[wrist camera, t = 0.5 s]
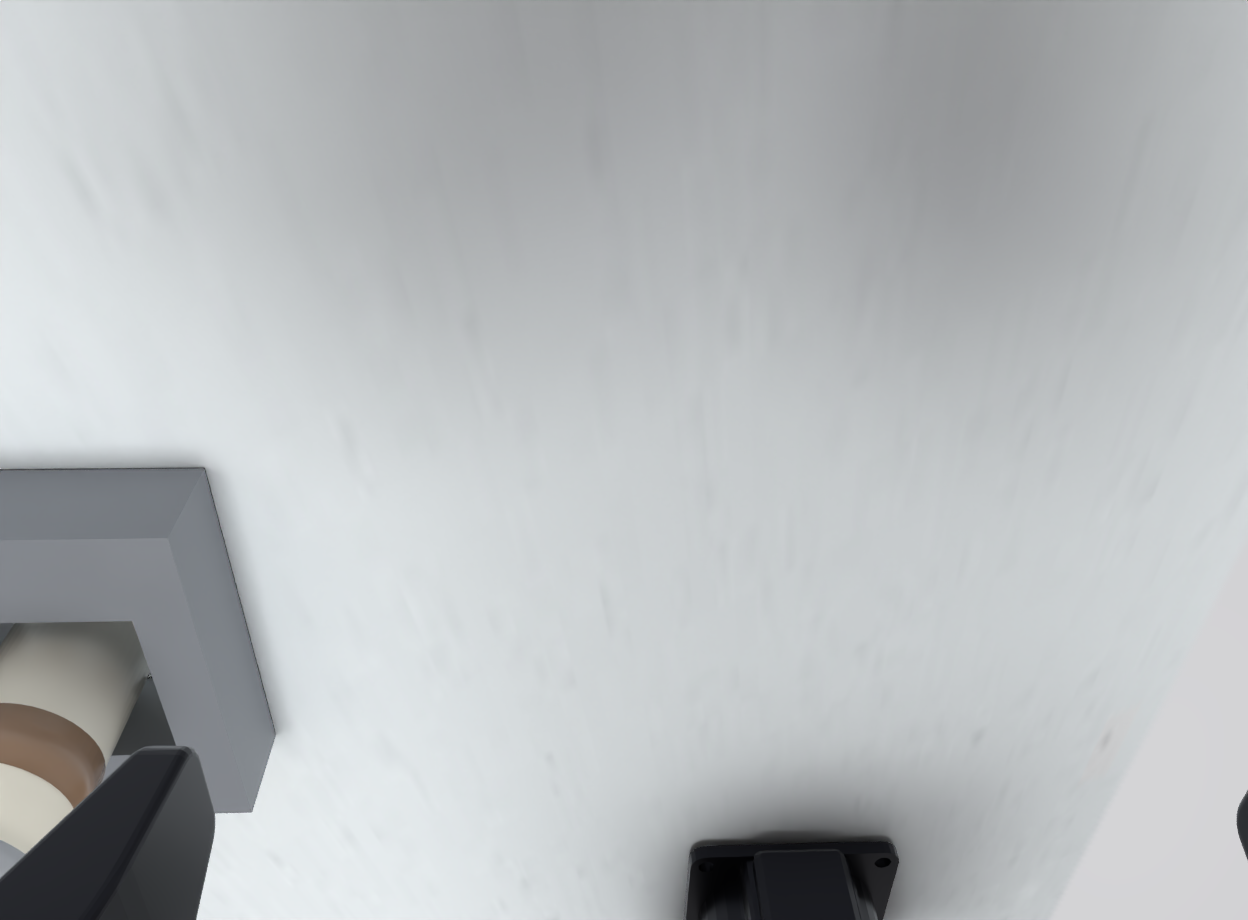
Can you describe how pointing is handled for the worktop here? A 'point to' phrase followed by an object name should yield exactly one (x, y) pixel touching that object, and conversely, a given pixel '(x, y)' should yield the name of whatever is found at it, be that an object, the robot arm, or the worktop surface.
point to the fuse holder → (145, 606)
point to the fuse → (60, 720)
